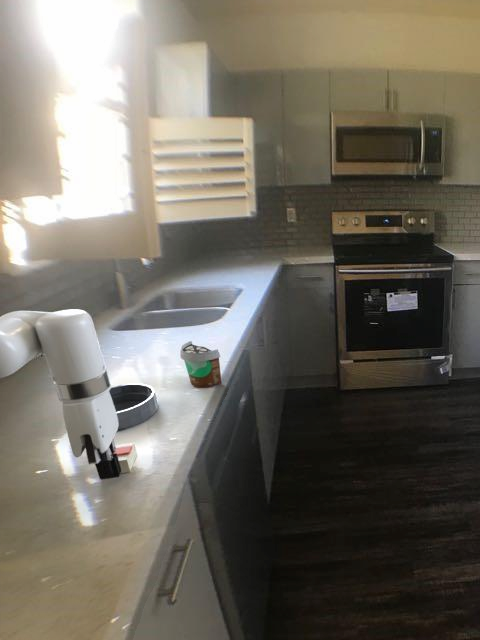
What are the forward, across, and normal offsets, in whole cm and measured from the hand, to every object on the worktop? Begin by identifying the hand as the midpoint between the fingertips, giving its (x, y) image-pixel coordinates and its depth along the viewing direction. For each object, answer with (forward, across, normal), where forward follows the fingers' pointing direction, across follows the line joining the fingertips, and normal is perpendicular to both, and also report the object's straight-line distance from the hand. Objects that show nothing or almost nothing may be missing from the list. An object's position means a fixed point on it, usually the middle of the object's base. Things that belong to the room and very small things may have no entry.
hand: (111, 475), depth 83 cm
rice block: (+1, -5, 0) cm, 5 cm away
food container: (+2, -38, +12) cm, 40 cm away
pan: (+1, -26, -4) cm, 27 cm away
